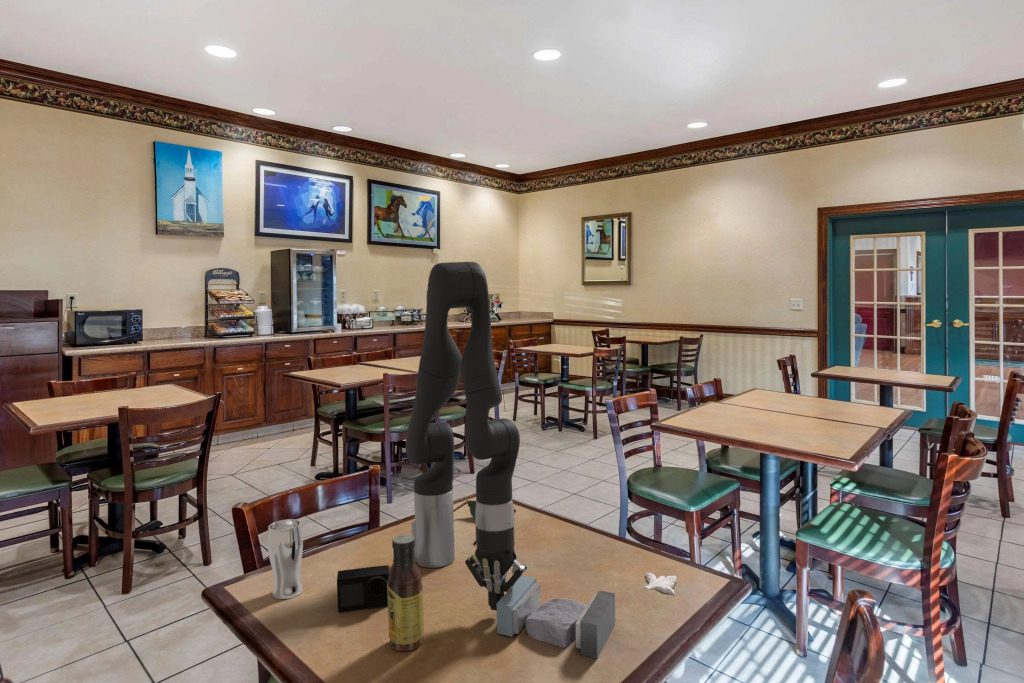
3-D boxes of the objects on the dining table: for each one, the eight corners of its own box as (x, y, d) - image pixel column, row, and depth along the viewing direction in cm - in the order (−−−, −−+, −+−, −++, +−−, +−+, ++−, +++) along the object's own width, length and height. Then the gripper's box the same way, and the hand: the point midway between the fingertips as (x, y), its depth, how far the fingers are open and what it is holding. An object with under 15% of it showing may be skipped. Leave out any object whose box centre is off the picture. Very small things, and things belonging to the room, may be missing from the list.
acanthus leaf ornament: (645, 578, 131) (645, 569, 131) (677, 582, 128) (677, 573, 128) (641, 593, 124) (641, 584, 123) (675, 598, 121) (675, 589, 121)
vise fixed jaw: (575, 653, 102) (574, 620, 101) (594, 619, 113) (594, 589, 112) (597, 659, 100) (596, 625, 100) (615, 623, 111) (614, 593, 111)
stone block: (521, 645, 108) (568, 651, 102) (517, 618, 108) (563, 623, 103) (555, 618, 118) (598, 623, 112) (551, 594, 118) (594, 598, 112)
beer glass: (311, 588, 127) (309, 521, 126) (287, 603, 121) (284, 532, 120) (288, 582, 130) (285, 516, 129) (263, 596, 124) (259, 528, 123)
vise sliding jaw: (497, 633, 108) (496, 603, 108) (523, 602, 119) (522, 575, 118) (516, 638, 106) (516, 607, 106) (541, 606, 117) (540, 579, 117)
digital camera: (337, 616, 116) (335, 582, 115) (338, 603, 121) (337, 570, 121) (390, 609, 118) (389, 575, 118) (389, 596, 123) (388, 564, 123)
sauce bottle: (391, 635, 109) (388, 530, 107) (425, 632, 109) (422, 529, 108) (386, 656, 102) (383, 545, 101) (422, 653, 103) (419, 543, 101)
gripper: (455, 524, 113) (457, 610, 114) (517, 534, 107) (519, 625, 108) (474, 511, 120) (476, 593, 121) (533, 520, 114) (535, 606, 115)
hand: (496, 608), depth 114 cm, fingers closed
